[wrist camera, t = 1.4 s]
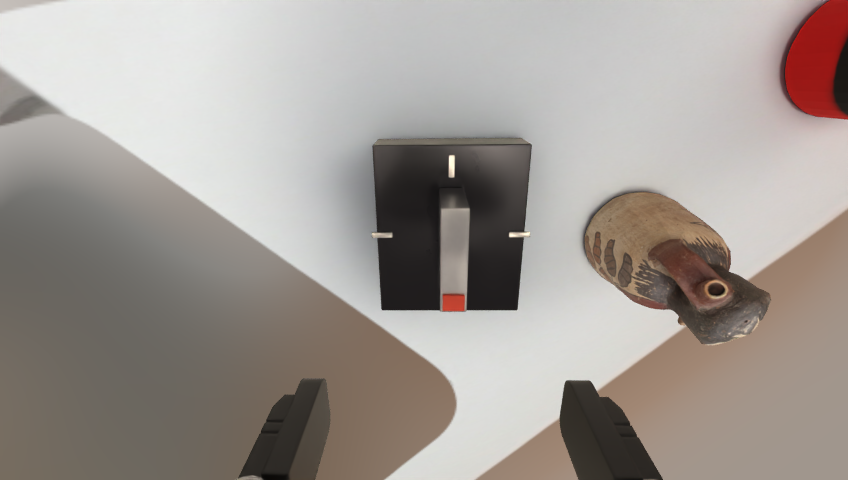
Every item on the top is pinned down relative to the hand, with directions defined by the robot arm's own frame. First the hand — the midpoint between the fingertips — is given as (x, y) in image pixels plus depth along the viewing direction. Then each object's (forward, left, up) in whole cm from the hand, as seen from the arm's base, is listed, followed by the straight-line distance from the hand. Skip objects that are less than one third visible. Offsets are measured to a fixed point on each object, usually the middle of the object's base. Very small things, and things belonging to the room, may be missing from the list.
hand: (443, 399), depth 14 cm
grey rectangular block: (0, +1, -15) cm, 15 cm away
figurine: (+1, +15, -18) cm, 23 cm away
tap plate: (0, +1, -18) cm, 18 cm away
